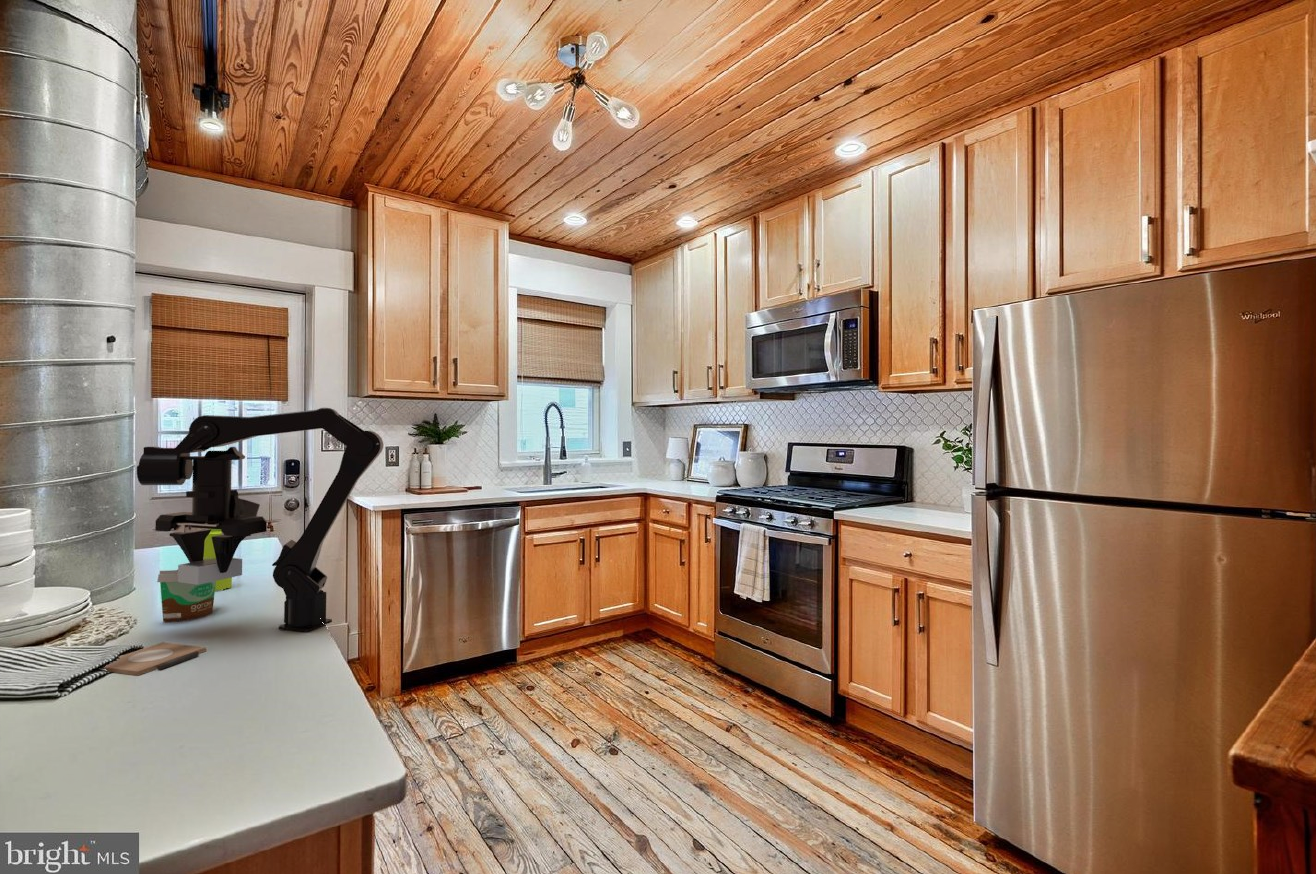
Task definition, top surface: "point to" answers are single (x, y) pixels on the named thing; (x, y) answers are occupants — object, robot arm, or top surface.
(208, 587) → the food container
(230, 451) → the robot arm
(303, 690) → the top surface
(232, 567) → the white rectangular block
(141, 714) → the top surface
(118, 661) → the cutting board
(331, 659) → the top surface
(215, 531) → the soap dispenser
